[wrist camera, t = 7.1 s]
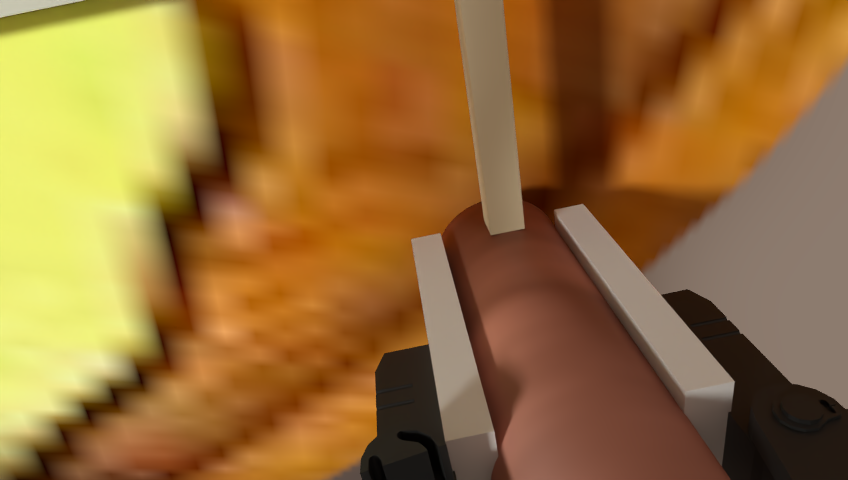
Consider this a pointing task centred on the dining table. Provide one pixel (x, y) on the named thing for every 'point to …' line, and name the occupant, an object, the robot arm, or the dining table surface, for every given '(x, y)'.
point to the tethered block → (549, 317)
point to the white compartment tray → (28, 5)
